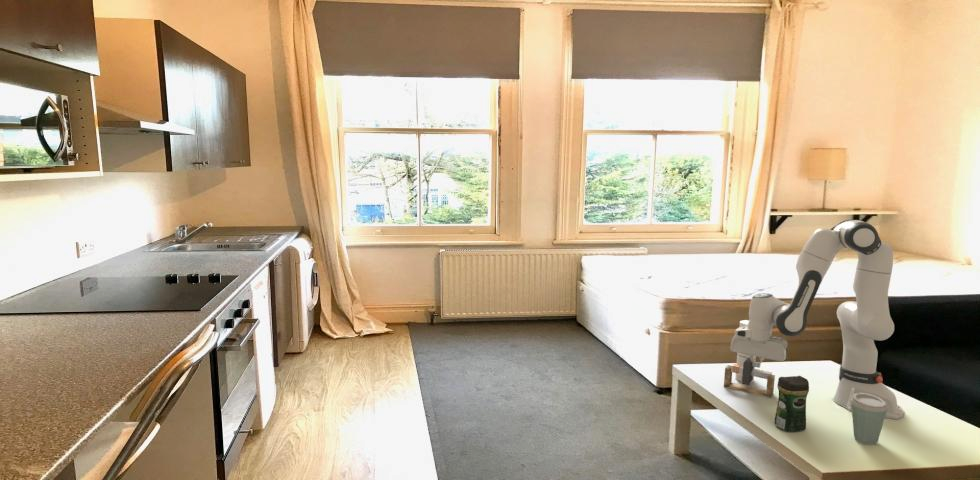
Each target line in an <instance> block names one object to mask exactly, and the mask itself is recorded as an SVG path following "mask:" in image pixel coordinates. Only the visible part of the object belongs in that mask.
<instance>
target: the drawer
mask: <svg viewBox="0 0 980 480" xmlns="http://www.w3.org/2000/svg"><path fill="white" fill-rule="evenodd" d="M728 365H729V364H728ZM728 365H726V366H725V368H724V378H723V379H724V380H723V387H724V388H729V389H734V390H737V391H741V392H746V393H750V394H754V395H759V396H763V397H767V398H772V397H773V395H774V390H775V381H776V375H775V374H772V376H771V377H768V378H767V379H766V382H767V383H766V389H763V388H757V387H753V386H749V385H744V384H742V383H741V384H740V383H736V382H732V378H733V372H732V371H731V368H728Z"/></svg>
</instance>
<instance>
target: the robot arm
mask: <svg viewBox="0 0 980 480" xmlns="http://www.w3.org/2000/svg"><path fill="white" fill-rule="evenodd" d="M843 249H848V250H852V251H855V252H856V253H857V259H858V260H857V264H856V269H855V273H854V279H853V284H852V288H853V292H854V294H855V301H852V300H849V301H848V300H847V301H844V302H842V303H841V304H839V305H838V307H837V310H836V317H837V319H838V321H839V325H840V330H841V336H842V345H843V348H842V349H843V350H842V361H841V362H842V363H841V364H840V366H839V367H840V368H839V370H838V371H839V372H838V380H839V381H838V386H837V389H836V390H835V391H836V392H835V394H834V396H833V398H832V400H833V401H834V402H835V403H836V404H837V405H839V406H841V407H843V408H846V409H847V410H848V411H850V412H852V405H851V403H850V399H851V397H852V396H853V394H855V393H867V394H871V395H874V396H876V397H879V398H881V399H882V400H884V401H885V403H886V404H887V406H888V410H887V412H886V416H885V418H888V419H893V420H900V419H901V418H903V417H904V408H902V406H900V405H899V404H898V401H897V397H896V395H895V393H894V392H893V391H892V390H891V389H890V388H889V387H887V385H885V384H884V383H883V375H882V373H881V372H878V371H877V363H878V353H879V352H878V351H879V350H878V349H877V347H876V344H875V341H885V340H888V339H889V338H891V336H892V335H893V334H894V332H895V323H894V321H893V319H892V317H891V314H890V307H889V306H890V305H889V288H890V285H891V284H890V283H891V277H892V272H893V265H894V249H893V247H892V246H891V245H890V244H889V243H887V242H885V241H882V240H881V237H880V236H879V232H878V230H877V229H876V228H875V226H873V224H870V223H869V222H865V221H863V220H858V219H845V220H843V221H841V222H839V223H838V224H836V225H834V226H833V227H832V228H825V227H823V228H821V227H820V228H817V229H816V230H814V231H813V233H812V234H811V235H810V236H809V238H808V240H807V241H806V242H805V244H804V245H803V248H802V250H801V251H800V253H799V256H798V258H797V261H796V265H795V269H796V271H797V272H796V273H797V276H798V285H797V288H796V291H795V293H794V295H793V298H792V299H791V301H790V303H787V302H785V301H782V300H780V299H779V298H777V297H776V296H774V295H773V294H772V293H766V292H761V293H757V294H755V295H753V296H752V297H751V299H750V302H749V308H748V317H749V318H748V320H749V322H748V326H746V327H740V326H739V327H737V328H736V329H735V331H734V336H732V338H731V342H730V346H729V349H730V351H731V352H732V353H741V354H746V355H750V359H751V361H752V366H753V367H755V368H757V369H759V368H761V365H762V362H763V361H764V360H765V359H767V360H772V361H777V362H781V363H782V362H784V361H785V360H786V358H787V351H786V349H787V348H788V343H789V342H788V341H787V340H786V339H785V338H784V337H780V336H776V335H775V336H774V335H772V331H773V327H777V330H778V331H779V332H780V333H781V334H782V335H784V336H787V337H795V336H796V337H797V336H800V335H801V334H802V333H803V332H804V331H805V330H806V328H807V325H808V324H807V323H808V313H809V311H810V308H811V306H812V304H813V301H814V299H815V297H816V295H817V293H818V290H819V289H820V285H821V284H822V282H823V280H824V278H825V276H826V274H827V273H828V271H829V269H830V268H831V265H832V264H833V261H834V260H835V258H836V255H837V254H838V253H839V252H840V251H841V250H843ZM754 356H756V358H759V361H756V359H755V360H754Z"/></svg>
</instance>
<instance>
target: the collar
mask: <svg viewBox="0 0 980 480" xmlns="http://www.w3.org/2000/svg"><path fill="white" fill-rule="evenodd" d="M751 368H753V369H754V367H753V366H752V361H751V359H750V358H749V357H748V358H747V359H746V360H745V361H744V363H743V375H742V381H741V385H745V386H749V385H750V383H752V382H751V381H752V380H753V376H750V373H751Z"/></svg>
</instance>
